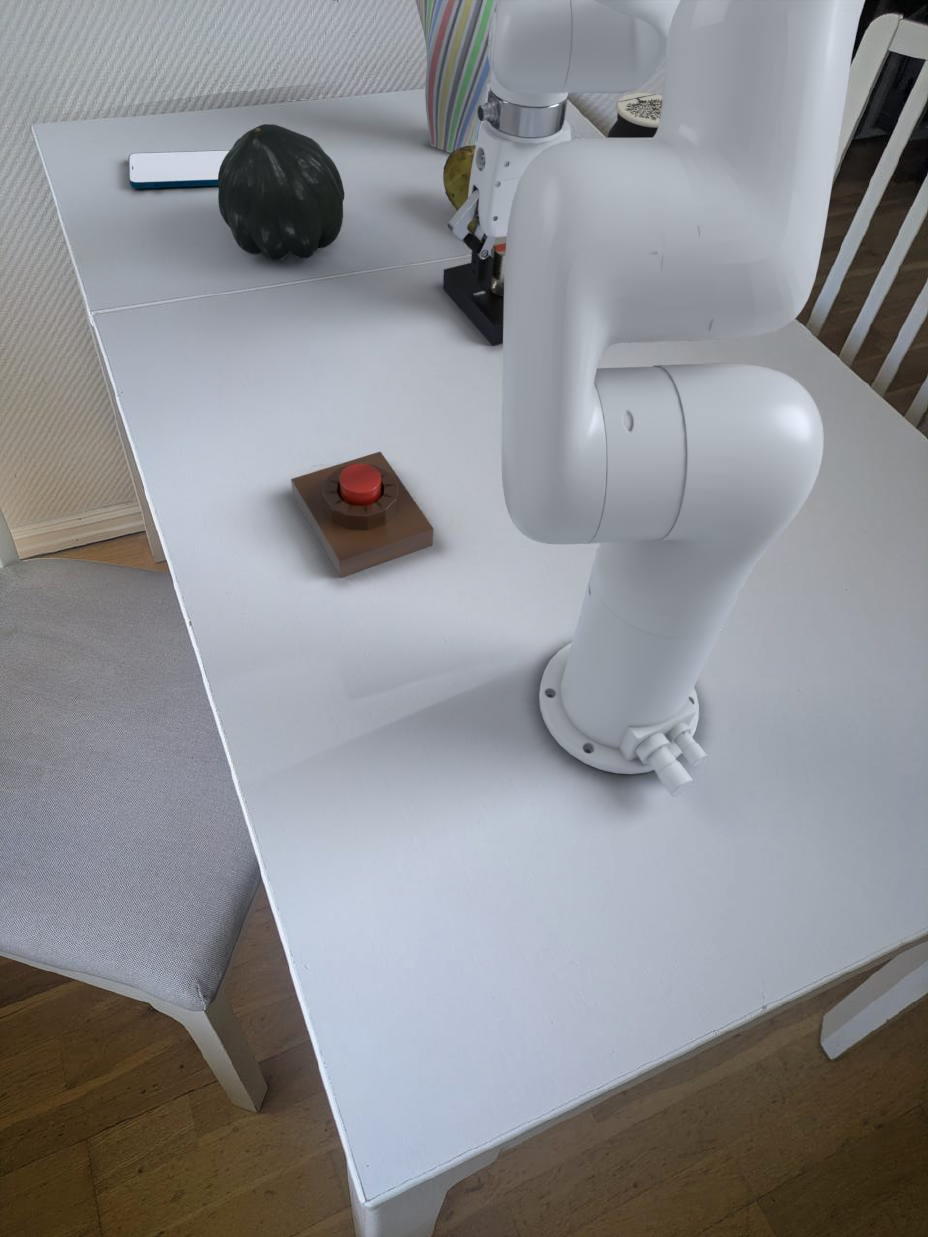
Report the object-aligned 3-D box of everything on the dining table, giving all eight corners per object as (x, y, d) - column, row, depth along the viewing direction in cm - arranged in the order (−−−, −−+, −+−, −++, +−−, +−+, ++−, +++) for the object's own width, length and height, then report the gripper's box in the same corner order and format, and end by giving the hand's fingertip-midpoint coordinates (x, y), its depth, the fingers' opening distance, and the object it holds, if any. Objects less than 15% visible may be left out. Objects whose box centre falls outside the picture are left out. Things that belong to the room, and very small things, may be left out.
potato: (460, 253, 111) (464, 189, 104) (435, 200, 118) (438, 137, 112) (524, 248, 113) (532, 184, 106) (496, 195, 120) (502, 133, 114)
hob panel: (568, 324, 103) (572, 304, 101) (492, 346, 100) (494, 325, 98) (515, 270, 109) (518, 249, 107) (442, 288, 106) (443, 267, 104)
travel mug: (661, 272, 111) (700, 119, 97) (604, 282, 109) (635, 127, 95) (631, 238, 115) (664, 87, 101) (575, 247, 113) (601, 94, 99)
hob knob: (514, 272, 105) (519, 229, 100) (533, 293, 102) (539, 249, 98) (481, 280, 103) (484, 236, 99) (498, 301, 101) (503, 257, 97)
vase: (519, 141, 130) (547, -122, 106) (469, 177, 122) (487, -96, 99) (440, 113, 134) (450, -147, 110) (387, 147, 126) (386, -123, 102)
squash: (345, 158, 112) (256, 68, 101) (383, 224, 105) (291, 136, 93) (268, 239, 117) (174, 163, 105) (299, 309, 109) (202, 235, 98)
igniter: (432, 545, 81) (434, 514, 78) (340, 578, 78) (338, 547, 75) (380, 468, 87) (380, 436, 84) (292, 495, 84) (289, 464, 81)
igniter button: (387, 499, 80) (387, 484, 78) (350, 511, 78) (349, 497, 77) (370, 473, 81) (370, 458, 80) (333, 485, 80) (332, 470, 79)
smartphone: (253, 155, 122) (129, 159, 119) (252, 148, 122) (128, 152, 118) (258, 185, 118) (130, 190, 115) (258, 178, 117) (128, 183, 114)
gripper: (466, 142, 83) (455, 313, 97) (621, 113, 89) (589, 278, 103) (429, 107, 87) (424, 277, 101) (580, 81, 92) (555, 245, 107)
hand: (508, 276), depth 102 cm, fingers open, 6 cm apart
